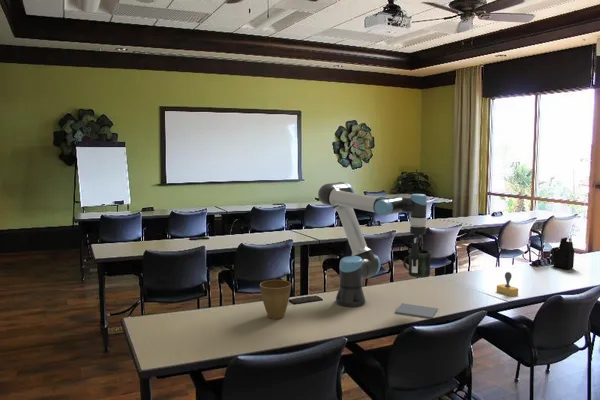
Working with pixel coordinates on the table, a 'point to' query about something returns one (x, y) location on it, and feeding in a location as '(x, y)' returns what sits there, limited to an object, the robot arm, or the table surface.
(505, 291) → the rubber stamp
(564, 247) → the camera
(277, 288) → the plant pot
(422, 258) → the mug
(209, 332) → the table surface
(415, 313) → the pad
